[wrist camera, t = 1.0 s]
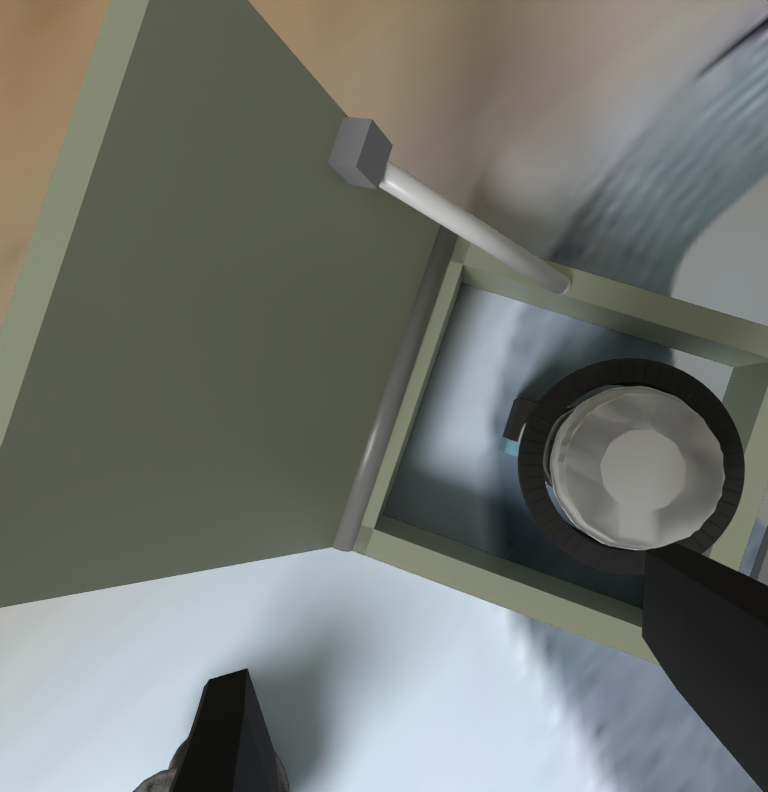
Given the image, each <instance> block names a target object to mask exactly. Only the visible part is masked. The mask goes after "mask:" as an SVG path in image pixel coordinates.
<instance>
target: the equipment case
mask: <svg viewBox="0 0 768 792" xmlns="http://www.w3.org/2000/svg"><path fill="white" fill-rule="evenodd" d="M392 146H393V145H392V144H391V142H390V141H389V140H388V139H387V137H386V136H385V135H384V134H383V132H382V131H381V130H380V129H379V127H378V126H377V125H376V124H375V122H374V121H373V120H372V119H363V118H353V117H348V116H347V115H346V114H345V113H344V112H343V110H342V109H341V108H340V107H339V106H338V105H337V103H336V102H335V101H334V100H333V99H332V98H331V96H330V95H329V94H328V93H327V92H326V91H325V89H324V88H323V87H322V86H321V85H320V84H319V82H318V81H317V80H316V79H315V78H314V77H313V76H312V74H311V73H310V72H309V71H308V70H307V69H306V67H305V66H304V65H303V64H302V63H301V62H300V60H299V59H298V58H297V57H296V56H295V55H294V53H293V52H292V51H291V50H290V49H289V48H288V47H287V45H286V44H285V43H284V42H283V41H282V40H281V38H280V37H279V36H278V35H277V34H276V33H275V31H274V30H273V29H272V28H271V27H270V26H269V24H268V23H267V22H266V21H265V20H264V19H263V18H262V16H261V15H260V14H259V13H258V12H257V11H256V9H255V8H254V7H253V6H252V5H251V4H250V2H249V1H248V0H110V2H109V5H108V8H107V11H106V14H105V17H104V20H103V23H102V26H101V29H100V32H99V35H98V38H97V41H96V44H95V47H94V50H93V53H92V56H91V59H90V62H89V65H88V68H87V71H86V74H85V77H84V80H83V83H82V87H81V90H80V93H79V96H78V99H77V102H76V105H75V108H74V111H73V114H72V117H71V120H70V123H69V126H68V129H67V132H66V135H65V138H64V141H63V144H62V147H61V150H60V153H59V156H58V159H57V162H56V165H55V168H54V171H53V174H52V177H51V180H50V183H49V186H48V189H47V192H46V195H45V198H44V201H43V204H42V207H41V210H40V213H39V216H38V219H37V222H36V225H35V228H34V231H33V234H32V237H31V240H30V243H29V246H28V249H27V252H26V256H25V259H24V262H23V265H22V268H21V271H20V274H19V277H18V280H17V283H16V286H15V289H14V292H13V295H12V298H11V301H10V304H9V307H8V310H7V313H6V316H5V319H4V322H3V325H2V328H1V331H0V608H1V607H7V606H12V605H17V604H23V603H28V602H34V601H39V600H45V599H50V598H56V597H61V596H67V595H72V594H78V593H83V592H89V591H94V590H100V589H105V588H111V587H116V586H121V585H127V584H132V583H138V582H143V581H149V580H154V579H160V578H165V577H171V576H176V575H182V574H187V573H193V572H198V571H204V570H209V569H215V568H220V567H226V566H231V565H236V564H242V563H247V562H253V561H258V560H264V559H269V558H275V557H280V556H286V555H291V554H297V553H302V552H308V551H313V550H319V549H324V548H330V547H333V548H335V549H338V550H341V551H347V552H349V551H354V552H357V553H360V554H362V555H365V556H368V557H370V558H373V559H376V560H378V561H381V562H384V563H386V564H389V565H392V566H394V567H397V568H400V569H402V570H405V571H408V572H410V573H413V574H416V575H418V576H421V577H424V578H426V579H429V580H432V581H434V582H437V583H440V584H442V585H445V586H448V587H451V588H453V589H456V590H459V591H461V592H464V593H467V594H469V595H472V596H475V597H477V598H480V599H483V600H485V601H488V602H491V603H493V604H496V605H499V606H501V607H504V608H507V609H509V610H512V611H515V612H517V613H520V614H523V615H525V616H528V617H531V618H533V619H536V620H539V621H541V622H544V623H547V624H550V625H552V626H555V627H558V628H560V629H563V630H566V631H568V632H571V633H574V634H576V635H579V636H582V637H584V638H587V639H590V640H592V641H595V642H598V643H600V644H603V645H606V646H608V647H611V648H614V649H616V650H619V651H622V652H624V653H627V654H630V655H632V656H635V657H638V658H641V659H643V660H646V661H649V662H651V663H654V664H657V665H659V666H661V665H660V664H659V662H658V661H657V659H656V658H655V656H654V655H653V653H652V651H651V650H650V648H649V647H648V645H647V644H646V642H645V641H644V639H643V638H642V618H643V609H641V608H638V607H635V606H633V605H630V604H627V603H624V602H622V601H619V600H616V599H613V598H611V597H608V596H605V595H602V594H600V593H597V592H594V591H591V590H589V589H586V588H583V587H580V586H578V585H575V584H572V583H569V582H567V581H564V580H561V579H558V578H556V577H553V576H550V575H547V574H545V573H542V572H539V571H536V570H534V569H531V568H528V567H525V566H523V565H520V564H517V563H514V562H512V561H509V560H506V559H503V558H501V557H498V556H495V555H492V554H490V553H487V552H484V551H481V550H479V549H476V548H473V547H470V546H468V545H465V544H462V543H459V542H457V541H454V540H451V539H448V538H446V537H443V536H440V535H437V534H435V533H432V532H429V531H426V530H424V529H421V528H418V527H415V526H413V525H410V524H407V523H404V522H402V521H399V520H396V519H393V518H391V517H388V516H385V515H383V514H384V511H385V508H386V505H387V502H388V499H389V496H390V493H391V490H392V487H393V484H394V481H395V479H396V476H397V473H398V470H399V467H400V464H401V461H402V458H403V455H404V452H405V449H406V446H407V443H408V440H409V437H410V434H411V431H412V428H413V425H414V422H415V419H416V416H417V413H418V410H419V408H420V405H421V402H422V399H423V396H424V393H425V390H426V387H427V384H428V381H429V378H430V375H431V372H432V369H433V366H434V363H435V360H436V357H437V354H438V351H439V348H440V345H441V342H442V339H443V337H444V334H445V331H446V328H447V325H448V322H449V319H450V316H451V313H452V310H453V307H454V304H455V301H456V298H457V295H458V292H459V289H460V286H461V283H463V284H467V285H470V286H473V287H476V288H480V289H483V290H486V291H489V292H493V293H496V294H499V295H502V296H505V297H509V298H512V299H515V300H518V301H522V302H525V303H528V304H531V305H535V306H538V307H541V308H544V309H547V310H551V311H554V312H557V313H560V314H564V315H567V316H570V317H573V318H576V319H580V320H583V321H586V322H589V323H593V324H596V325H599V326H602V327H606V328H609V329H612V330H615V331H618V332H622V333H625V334H628V335H631V336H635V337H638V338H641V339H644V340H648V341H651V342H654V343H657V344H660V345H664V346H667V347H670V348H673V349H677V350H680V351H683V352H686V353H690V354H693V355H696V356H699V357H702V358H706V359H709V360H713V361H715V362H719V363H722V364H725V365H728V366H731V367H734V369H733V372H732V375H731V378H730V380H729V383H728V386H727V389H726V392H725V395H724V398H723V401H722V404H723V405H724V407H725V408H726V410H727V411H728V413H729V414H730V416H731V418H732V420H733V422H734V424H735V426H736V428H737V431H738V433H739V436H740V440H741V443H742V447H743V453H744V461H745V479H744V486H743V492H742V496H741V499H740V503H739V505H738V508H737V510H736V513H735V515H734V517H733V519H732V521H731V522H730V524H729V526H728V527H727V528H726V530H725V531H724V533H723V534H722V535H721V536H720V538H719V539H718V540H717V541H716V542H715V543H714V544H713V545H712V546H711V547H710V548H709V549H708V550H706V551H705V552H704V553H702V555H704V556H706V557H708V558H711V559H713V560H715V561H717V562H719V563H721V564H723V565H725V566H727V567H730V568H732V569H734V570H736V571H738V570H739V567H740V564H741V561H742V558H743V555H744V552H745V549H746V546H747V543H748V541H749V538H750V535H751V532H752V529H753V526H754V523H755V520H756V517H757V514H758V511H759V508H760V505H761V502H762V500H763V497H764V494H765V491H766V488H767V485H768V326H765V325H761V324H758V323H755V322H751V321H748V320H744V319H741V318H738V317H734V316H731V315H728V314H724V313H721V312H718V311H714V310H711V309H708V308H704V307H701V306H698V305H694V304H691V303H688V302H684V301H681V300H677V299H674V298H671V297H668V296H664V295H661V294H658V293H654V292H651V291H648V290H644V289H641V288H638V287H634V286H631V285H628V284H624V283H621V282H618V281H614V280H611V279H608V278H604V277H601V276H598V275H594V274H591V273H588V272H584V271H581V270H578V269H574V268H571V267H568V266H564V265H561V264H558V263H554V262H551V261H548V260H544V259H541V258H538V257H536V256H535V255H533V254H531V253H530V252H528V251H527V250H525V249H524V248H522V247H521V246H519V245H518V244H516V243H515V242H513V241H512V240H510V239H508V238H507V237H505V236H504V235H502V234H501V233H499V232H498V231H496V230H495V229H493V228H492V227H490V226H489V225H487V224H485V223H484V222H482V221H481V220H479V219H478V218H476V217H475V216H473V215H472V214H470V213H469V212H467V211H466V210H464V209H462V208H461V207H459V206H458V205H456V204H455V203H453V202H452V201H450V200H449V199H447V198H446V197H444V196H443V195H441V194H439V193H438V192H436V191H435V190H433V189H432V188H430V187H429V186H427V185H426V184H424V183H423V182H421V181H420V180H418V179H416V178H415V177H413V176H412V175H410V174H409V173H407V172H406V171H404V170H403V169H401V168H400V167H398V166H397V165H395V164H393V163H392V162H390V161H389V160H388V158H389V155H390V152H391V149H392Z"/></svg>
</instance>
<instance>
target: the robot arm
mask: <svg viewBox="0 0 768 792" xmlns="http://www.w3.org/2000/svg"><path fill="white" fill-rule="evenodd" d="M642 638H643V639H644V641H645V642H646V644H647V645H648V647H649V648H650V650H651V651H652V653H653V655H654V656H655V658H656V659H657V661H658V662H659V664H660V665H661V667H662V668H663V670H664V671H665V673H666V674H667V676H668V677H669V678H670V680H671V681H672V683H673V684H674V686H675V687H676V689H677V690H678V691H679V692H680V694H681V695H682V696H683V697H684V698H685V700H686V701H687V702H688V703H689V705H690V706H691V707H692V708H693V709H694V711H695V712H696V713H697V714H698V715H699V716H700V718H701V719H702V720H703V721H704V722H705V724H706V725H707V726H708V727H709V728H710V730H711V731H712V732H713V733H714V734H715V736H716V737H717V738H718V739H719V740H720V741H721V743H722V744H723V745H724V746H725V747H726V748H727V750H728V751H729V752H730V753H731V754H732V755H733V757H734V758H735V759H736V760H737V761H738V763H739V764H740V765H741V766H742V767H743V768H744V770H745V771H746V772H747V773H748V774H749V775H750V777H751V778H752V779H753V780H754V781H755V782H756V784H757V785H758V786H759V787H760V788H761V790H762V791H763V792H768V585H765V584H763V583H761V582H759V581H757V580H755V579H753V578H751V577H749V576H746V575H744V574H742V573H740V572H738V571H736V570H734V569H732V568H730V567H727V566H725V565H723V564H721V563H719V562H717V561H715V560H713V559H711V558H708V557H706V556H704V555H702V554H700V553H698V552H695V551H693V550H691V549H689V548H686V547H684V546H682V545H679V544H677V543H672V544H669V545H666V546H662V547H659V548H655V549H652V550H649V551H645V570H644V594H643V618H642ZM169 792H279V785H278V777H277V768H276V759H275V753H274V749H273V746H272V743H271V740H270V737H269V734H268V731H267V728H266V725H265V721H264V718H263V715H262V712H261V709H260V706H259V703H258V700H257V697H256V694H255V690H254V687H253V684H252V681H251V678H250V675H249V672H248V669H243V670H240V671H237V672H233V673H230V674H226V675H223V676H220V677H216V678H213V679H209V681H208V682H207V684H206V685H205V686H204V689H203V693H202V696H201V700H200V703H199V706H198V710H197V713H196V716H195V719H194V722H193V725H192V728H191V731H190V734H189V737H188V740H187V743H186V746H185V749H184V752H183V754H182V757H181V760H180V763H179V766H178V768H177V771H176V774H175V776H174V779H173V782H172V784H171V787H170V789H169Z"/></svg>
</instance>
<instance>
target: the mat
mask: <svg viewBox="0 0 768 792" xmlns="http://www.w3.org/2000/svg"><path fill="white" fill-rule="evenodd" d="M750 577H751V578H753V579H755V580H757V581H759V582H761V583H763V584H765V585H768V526H767V529H766V532H765V535H764V538H763V541H762V544H761V547H760V550H759V553H758V555H757V558H756V561H755V564H754V567H753V570H752V573H751V576H750Z"/></svg>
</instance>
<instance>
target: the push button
mask: <svg viewBox="0 0 768 792" xmlns="http://www.w3.org/2000/svg"><path fill="white" fill-rule="evenodd" d="M604 385H623V386H629V387H620V388H612V389H608V390H605V391H603V392H601V393H599V394H597V395H595V396H593V397H591V398H589V399H588V400H586V401H584V402H582V403H581V404H580V405H578V406H577V407H569V405H570V404H571V403H572V402H574V401H575V400H576V399H577V398H579V397H580V396H582V395H584V394H585V393H587V392H589V391H591V390H593V389H596V388H598V387H601V386H604ZM499 450H501V451H503V452H505V453H508V454H511V455H514V456H517V457H518V475H519V483H520V487H521V491H522V495H523V497H524V500H525V503H526V505H527V507H528V509H529V512H530V514H531V515H532V517H533V519H534V520H535V522H536V523H537V525H538V526H539V527H540V529H541V530H542V531H543V533H544V534H545V535H546V536H547V537H548V538H549V539H550V540H551V541H552V543H553V544H555V545H556V546H557V547H558V548H559V549H560V550H562V551H563V552H564V553H566V554H567V555H568V556H570V557H571V558H573V559H575V560H577V561H578V562H580V563H582V564H584V565H586V566H589V567H591V568H593V569H597V570H600V571H603V572H607V573H612V574H616V575H626V576H643V575H644V570H645V551H649V550H652V549H655V548H659V547H662V546H666V545H669V544H672V543H677V544H679V545H682V546H684V547H686V548H689V549H691V550H693V551H695V552H698V553H700V554H702V553H704V552H705V551H706V550H708V549H709V548H710V547H711V546H712V545H713V544H714V543H715V542H716V541H717V540H718V539H719V538H720V536H721V535H722V534H723V533H724V531H725V530H726V528H727V527H728V526H729V524H730V522H731V521H732V519H733V517H734V515H735V513H736V510H737V508H738V505H739V503H740V499H741V496H742V492H743V486H744V479H745V461H744V453H743V447H742V443H741V440H740V436H739V433H738V431H737V428H736V426H735V424H734V422H733V420H732V418H731V416H730V414H729V413H728V411H727V410H726V408H725V407H724V405H723V404H722V403H721V401H720V400H719V399H718V398H717V397H716V396H715V395H714V394H713V393H712V392H711V391H710V390H709V389H708V388H707V387H706V386H705V385H704V384H702V383H701V382H700V381H698V380H697V379H695V378H694V377H692V376H691V375H689V374H687V373H685V372H684V371H682V370H679V369H677V368H675V367H673V366H670V365H667V364H664V363H661V362H656V361H652V360H645V359H634V358H624V359H613V360H608V361H603V362H599V363H596V364H593V365H589V366H587V367H584V368H582V369H580V370H577V371H575V372H573V373H572V374H570V375H568V376H566V377H565V378H563V379H562V380H561V381H559V382H558V383H556V384H555V385H554V386H553V387H552V388H551V389H550V390H549V391H548V392H547V393H546V394H545V395H544V396H543V397H542V398H541V399H540V401H539V402H538V403H537V402H534V401H530V400H527V399H523V398H519V399H515V400H514V402H513V406H512V409H511V412H510V415H509V418H508V421H507V424H506V428H505V431H504V434H503V437H502V440H501V443H500V447H499ZM545 483H547V484H549V485H550V486H551V487H553V490H554V493H555V496H556V498H557V501H558V502H559V504H560V505H561V507H562V508H563V510H564V511H565V513H566V514H567V515H568V517H569V518H570V520H571V521H572V523H573V524H574V525H575V526H576V527H577V528H578V529H580V530H582V531H583V532H582V531H580V530H577V529H576V528H574V527H572V526H571V525H569V524H568V523H567V522H565V521H564V520H563V519H562V517H561V516H560V515H559V513H558V512H557V510H556V509H555V507H554V505H553V503H552V501H551V499H550V497H549V495H548V492H547V488H546V485H545ZM584 532H585V533H584Z"/></svg>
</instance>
